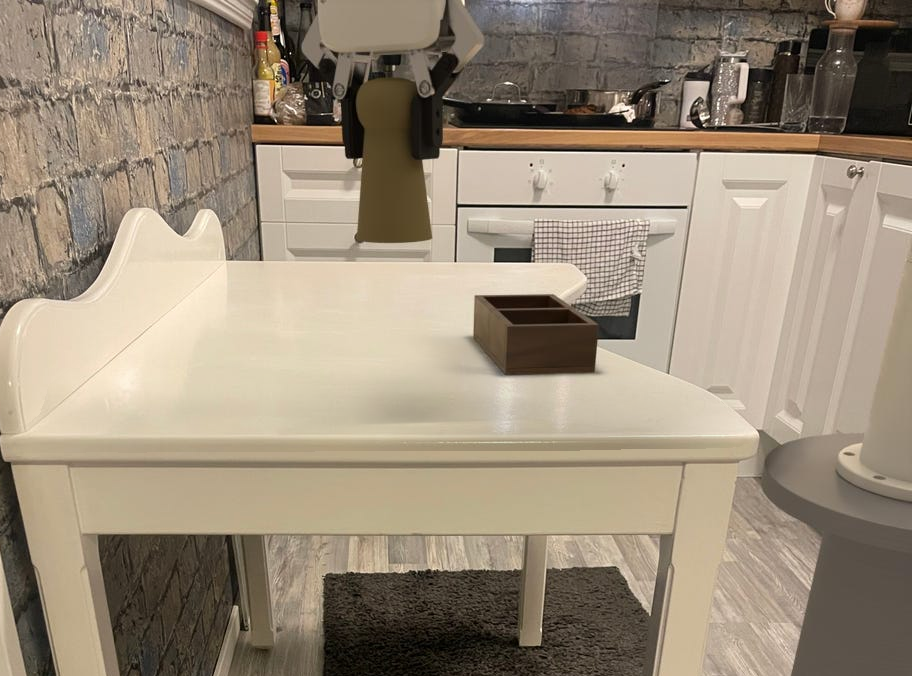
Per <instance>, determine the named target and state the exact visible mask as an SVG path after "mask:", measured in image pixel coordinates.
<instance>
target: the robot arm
mask: <svg viewBox="0 0 912 676" xmlns="http://www.w3.org/2000/svg"><path fill="white" fill-rule="evenodd" d="M465 4H466V3H465V0H317V12H316V14H315V16H314V19H313V21H312V23H311V24H310V26H309V28H308V30H307V33H306V34H305V36H304V38H303V40H302V42H301V45H300V46H301V47H300V50H301V52H302V53H303V55H304V56H305V57H306V58H307V59H308V60H309V61H310V62H311V64H312V65H313V66H314V67H315V68H316V69H318V70H319V73H320V75H321V76H322V77H323V79H324V80H325V81H326V83H328V85H329V86H330V87H331V89H332V94H333V96H334V98H335V99H337V100H340V116H341V118H340V119H341V136H342V137H341V138H342V139H341V140H342V143H343V146H344V156H345V159H346V160H360V159H361V160H362V159H363V145H364V132H365V129H364V127H363V125H362V124H361V122H360V121H359V118H358V114H357V111H356V98H357V93H358V91H359V89H360V86H361V85H362V84H364V83H365V82H367V81H369V75H370V69H371V65H372V61H373V56H380V55H381V56H385V55H388V56H389V55H408V58H409V62H410V66H411V70H412V74H413V78H414V81H415V82H416V86H417V90H418V98H412V101H411V138H412V157H413V158H414V159H415V160H422V161H425V160H437V159H439V158H440V155H441V154H440V153H441V148H440V147H441V146H442V145H443V141H444V98H446V97H448V95H449V94H450V89H451V87H452V85H453V84H454V83H455V82H456V80H457V79H458V78H459V77H460V75H461V73H462V72H463V71H464V69H465V66H466V65H467V64H469V62H470V61H471V60H472V59H473V58H474V57H475V56H476V55H477V53H479V51H480V50H481V49H482V48H483V46H484V45H485V36H484V34H483V33H482V31H481V30H480V28H479V26H478V24H477V23H476V21H475V20H474V19H473V17H472V16H471V14H470V13H469V11H468V9H467V8H466V5H465ZM333 52H334V53H338V56H337V57H336V56H335V55H334V53H333ZM444 52H445V53H444ZM442 53H443V54H442ZM877 375H878V376H877V380H876V384H875V389H874V393H873V397H872V401H871V406H870V410H869V414H868V418H867V422H866V426H865V431H864V433H865V434H864V439H863V443H859V444H855V445H851V446H849V447H846V448H844V449H843V450H842V451H840V452H839V454H838V457H837V461H836V470H837V472H838V474H839V475H840V476H841V477H842V478H843V479H845V480H846V481H847V482H849V483H851V484H853V485H854V486H857V487H859V488H861V489H863V490H866V491H868V492H871V493H874V494H877V495H880V496H884V497H888V498H892V499H896V500H900V501H905V502H910V503H912V237H911V239H910V243H909V247H908V252H907V256H906V258H905V261H904V266H903V271H902V274H901V279H900V282H899V287H898V291H897V296H896V300H895V305H894V308H893V312H892V316H891V321H890V325H889V330H888V334H887V338H886V341H885V346H884V350H883V355H882V359H881V363H880V367H879V372H878V374H877Z"/></svg>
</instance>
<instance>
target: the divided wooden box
mask: <svg viewBox="0 0 912 676" xmlns="http://www.w3.org/2000/svg"><path fill="white" fill-rule="evenodd" d="M473 300H474V301H473V302H474V303H473V334H472V338H473V339H474V340H475V341H476V342H477V343H478V345H479V346H480V347H481V348H482V350H483V351H484V352H485V353H486V354H487V355H488V357H489V358H490V359H491V360H492V361H493V362H494V363H495V364H496V365H497V367H498V368H499V369H500V370H501V372H503V373H504V375H507V376H508V375H542V374H544V375H545V374H547V375H548V374H581V373H583V374H584V373H585V374H586V373H595V372H596V364H597V363H596V362H597V352H598V351H597V350H598V341H599V331H600V324H599V323H598V322H595V321H594V320H593V319H592V318H590V317H588V316H587V315H585V314H584V313H583V312H581V311H579V310H577V308H575V307H573V306H572V305H571V304H569V303H568V302H566V301H564V300H563V299H561V298H560V297H559V296H557V295H556V294H554V293H540V294H537V293H536V294H533V293H532V294H531V293H530V294H529V293H528V294H475V295H474V299H473Z"/></svg>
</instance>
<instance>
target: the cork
mask: <svg viewBox="0 0 912 676" xmlns="http://www.w3.org/2000/svg"><path fill="white" fill-rule="evenodd" d="M412 98H418V90H417V86H416V82H415V80H412V79H408V78H404V77H377V78H373V79H370V80H368V81H367V82H365V83H364V84H362V85H361V86H360V89H359V91H358V93H357V98H356V111H357V114H358V118H359V121H360V122H361V124H362V125H363V127H364V129H365V132H364V145H363V158H361V172H360V173H361V174H360V189H359V202H358V215H357V216H358V217H357V229H356V230H357V231H356V241H358V242H362V243H370V244H371V243H373V244H408V243H418V242H426V241H430V240H432V239H433V231H432V223H431V217H430V209H429V202H428V195H427V194H428V192H427V186H426V179H425V178H426V177H425V171H424V163H423V162H424V161H423V160H415V159H414V158H413V157H412V138H411V101H412Z"/></svg>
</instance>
